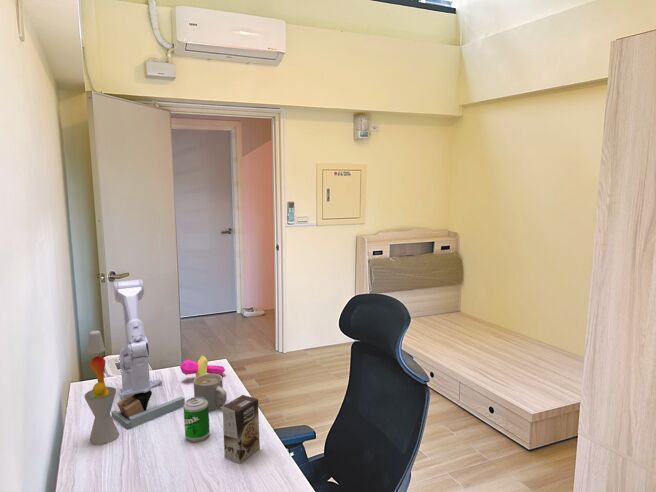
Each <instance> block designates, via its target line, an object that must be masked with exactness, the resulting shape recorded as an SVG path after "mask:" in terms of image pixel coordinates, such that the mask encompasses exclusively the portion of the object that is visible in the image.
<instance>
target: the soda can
mask: <svg viewBox="0 0 656 492" xmlns="http://www.w3.org/2000/svg"><path fill="white" fill-rule="evenodd" d="M182 408H183V418H184V419H183V420H184V436H185V438H186V440H188V441H190V442H192V443H196V442H201V441H203V440H206V439H207V437H208V436H209V435H210V432H211V431H210V430H211V429H210V419H209V418H210V415H209V413H210V412H208V401H207V400H205V399H204V398H203V397H191V398H188V399H187V400H186V401H185V404H184V405H183V407H182Z"/></svg>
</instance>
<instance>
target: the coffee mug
mask: <svg viewBox="0 0 656 492" xmlns="http://www.w3.org/2000/svg"><path fill="white" fill-rule="evenodd" d="M193 393H194V394H193V395H194V397H203V398H204V399H205V400H207V401H208V412H209V413H211V412H216V411H218V410H221V408H223V406H224V405H225V403H227V391H226V390H225V388H224V387H223V376H222V374H210V373H206V374H204V375H200V376H198V377H196V376H195V378H193Z"/></svg>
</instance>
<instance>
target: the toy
mask: <svg viewBox="0 0 656 492" xmlns="http://www.w3.org/2000/svg"><path fill="white" fill-rule="evenodd" d="M208 362H209V361H208V360H207V358H206V356H204V355H201V356H200V358H199V359H198V361H197V362H196V361H193V360H191V359H185V360H184V361H182V363H181V364H180V365H179V368H180V371H181V373H182V374H184V375H186V376H188V375H193V374H194V375H195V378H196V377H198V376H200V375H204V374H219V375H222V374H223V373H224V372H225V371H226V368H225V367H224V366H222V365H216V364H215V365H212V364H209V365H208Z"/></svg>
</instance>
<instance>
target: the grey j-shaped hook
mask: <svg viewBox="0 0 656 492" xmlns="http://www.w3.org/2000/svg"><path fill="white" fill-rule="evenodd" d="M185 399H186V398H185V397H183V396H180V397H176V398H174V399H172V400H169V401H167V402H163V403H162V404H159V405H156V406H154V407H151V408H148V409H147V410H146V411H143V412H141V413H138V414H135V415H133V416H130V417H129V420H128V419H127V418H125V417H124V416H123V415H122V414H121V411H120V410H119V411H118V410H116V409H115V410H111V412H110V415H111V417H112V419H114V420H115V421H116V422H117V423H118V424H120V425H121V426H122V427H124V428H125V429H126V430H130V429H132V428H135V427H137V426H140V425H143V424H144V423H147V422H149V421H152V420H154V419H157V418H160V417H161V416H165V415H167V414H169V413H171V412H174V411H177V410H179V409H181V408H183V405H184V404H185V403H186V401H185Z"/></svg>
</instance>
